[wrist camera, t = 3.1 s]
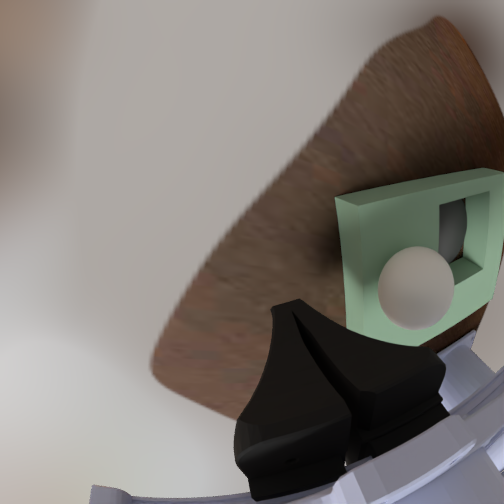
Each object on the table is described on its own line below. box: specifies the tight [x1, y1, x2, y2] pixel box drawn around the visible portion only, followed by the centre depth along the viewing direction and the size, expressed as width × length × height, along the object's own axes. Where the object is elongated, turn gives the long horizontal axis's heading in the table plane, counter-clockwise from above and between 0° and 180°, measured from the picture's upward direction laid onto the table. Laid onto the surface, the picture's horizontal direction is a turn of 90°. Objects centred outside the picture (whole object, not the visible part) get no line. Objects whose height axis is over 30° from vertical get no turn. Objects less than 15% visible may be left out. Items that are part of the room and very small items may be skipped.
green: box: [335, 168, 504, 346], centre depth 15 cm, size 11×14×2 cm
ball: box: [378, 246, 454, 330], centre depth 11 cm, size 4×4×4 cm
